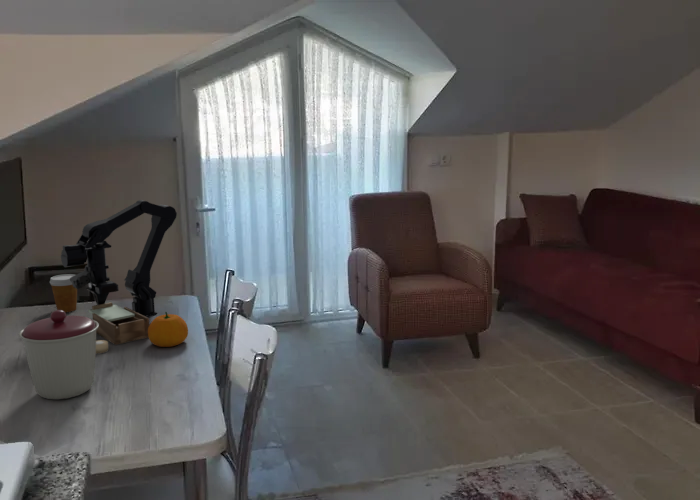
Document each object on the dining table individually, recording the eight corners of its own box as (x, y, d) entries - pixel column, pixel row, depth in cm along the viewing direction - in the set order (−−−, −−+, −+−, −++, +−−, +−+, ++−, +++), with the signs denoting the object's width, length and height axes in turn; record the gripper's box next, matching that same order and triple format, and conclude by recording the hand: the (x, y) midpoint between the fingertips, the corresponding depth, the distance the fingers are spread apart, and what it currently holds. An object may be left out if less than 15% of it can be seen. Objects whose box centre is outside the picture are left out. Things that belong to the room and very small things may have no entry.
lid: (115, 306, 227) (114, 301, 227) (134, 316, 216) (134, 310, 215) (88, 311, 221) (87, 306, 221) (106, 322, 210) (106, 316, 210)
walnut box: (127, 324, 224) (125, 306, 223) (150, 337, 211) (148, 318, 210) (93, 331, 217) (92, 313, 216) (115, 345, 204) (114, 325, 203)
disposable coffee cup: (51, 308, 244) (48, 275, 242) (80, 305, 248) (77, 272, 245) (52, 315, 235) (49, 281, 233) (82, 311, 239) (79, 278, 237)
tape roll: (104, 346, 203) (103, 338, 203) (111, 350, 199) (110, 342, 199) (87, 350, 200) (87, 342, 199) (94, 355, 196) (93, 346, 196)
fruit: (179, 351, 199) (177, 318, 197) (141, 349, 201) (139, 316, 199) (194, 338, 210) (192, 306, 208) (158, 336, 212) (156, 305, 210)
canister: (119, 386, 173) (112, 306, 169) (57, 412, 158) (48, 325, 154) (72, 373, 182) (65, 297, 178) (9, 397, 167) (0, 314, 163)
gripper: (61, 261, 224) (65, 307, 227) (81, 271, 210) (86, 319, 213) (95, 256, 231) (99, 301, 234) (117, 265, 217) (120, 313, 220)
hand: (100, 308), depth 225 cm, fingers closed
